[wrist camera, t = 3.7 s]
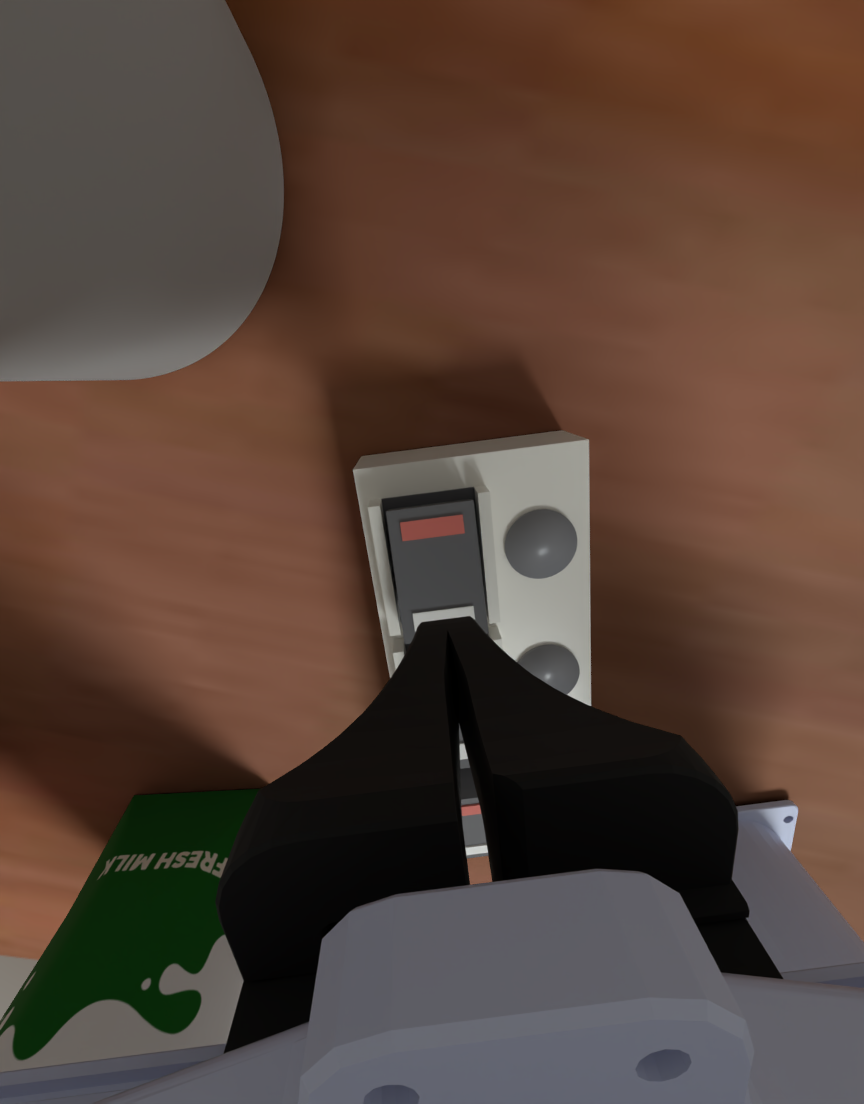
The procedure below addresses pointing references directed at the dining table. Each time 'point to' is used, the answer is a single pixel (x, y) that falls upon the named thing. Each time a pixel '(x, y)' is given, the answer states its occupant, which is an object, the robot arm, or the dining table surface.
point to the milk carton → (138, 943)
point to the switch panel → (500, 542)
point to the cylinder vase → (130, 186)
